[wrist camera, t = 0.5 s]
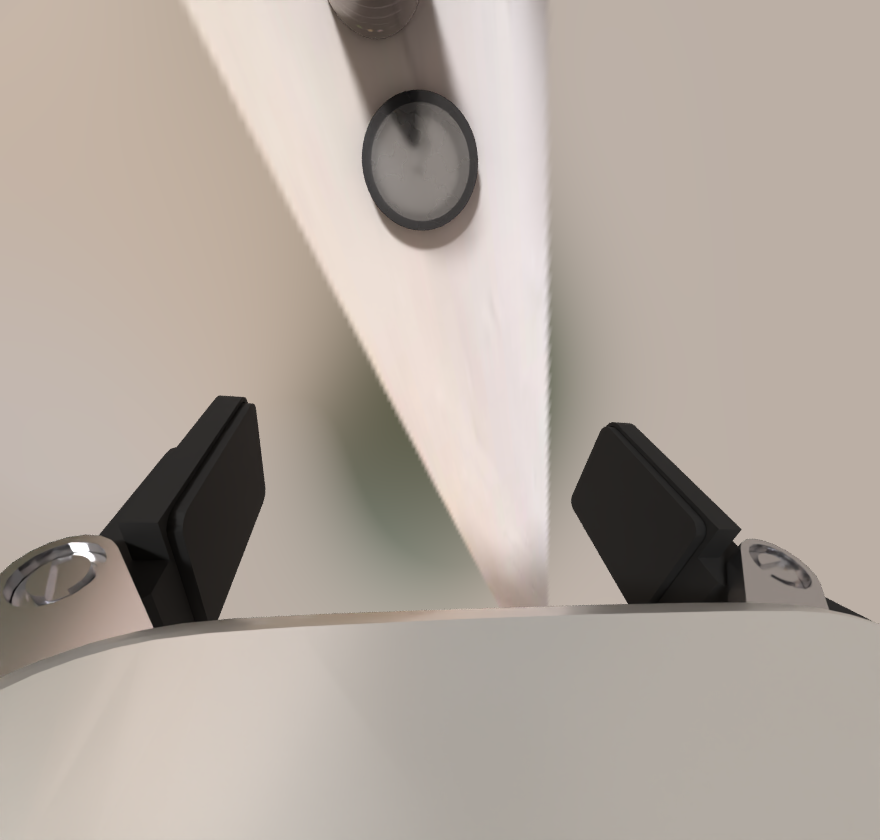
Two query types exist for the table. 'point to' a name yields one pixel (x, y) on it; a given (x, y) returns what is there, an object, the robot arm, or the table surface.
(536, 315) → the table surface
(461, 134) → the plate
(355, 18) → the supplement bottle
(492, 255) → the table surface
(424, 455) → the table surface
